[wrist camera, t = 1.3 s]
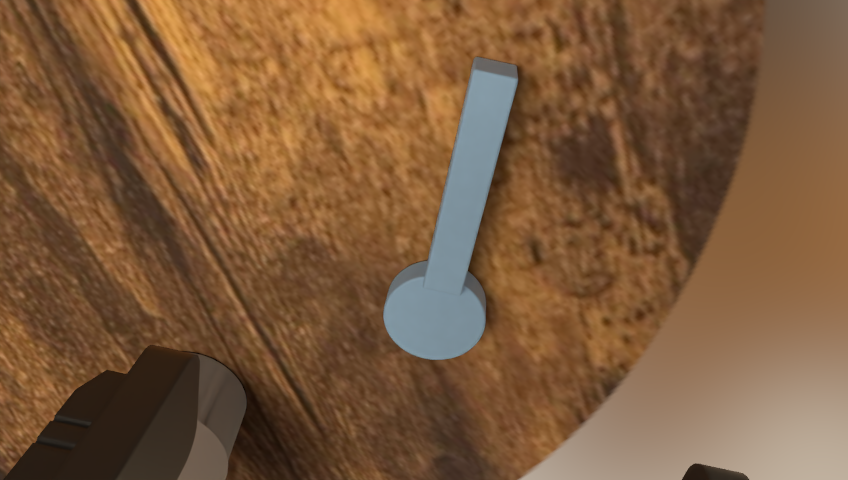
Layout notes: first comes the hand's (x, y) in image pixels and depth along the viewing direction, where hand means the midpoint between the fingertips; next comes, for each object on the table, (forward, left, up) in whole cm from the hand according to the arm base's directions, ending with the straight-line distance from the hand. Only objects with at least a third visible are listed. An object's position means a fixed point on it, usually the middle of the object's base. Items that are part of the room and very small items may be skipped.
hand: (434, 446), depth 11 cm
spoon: (+2, +1, -14) cm, 14 cm away
